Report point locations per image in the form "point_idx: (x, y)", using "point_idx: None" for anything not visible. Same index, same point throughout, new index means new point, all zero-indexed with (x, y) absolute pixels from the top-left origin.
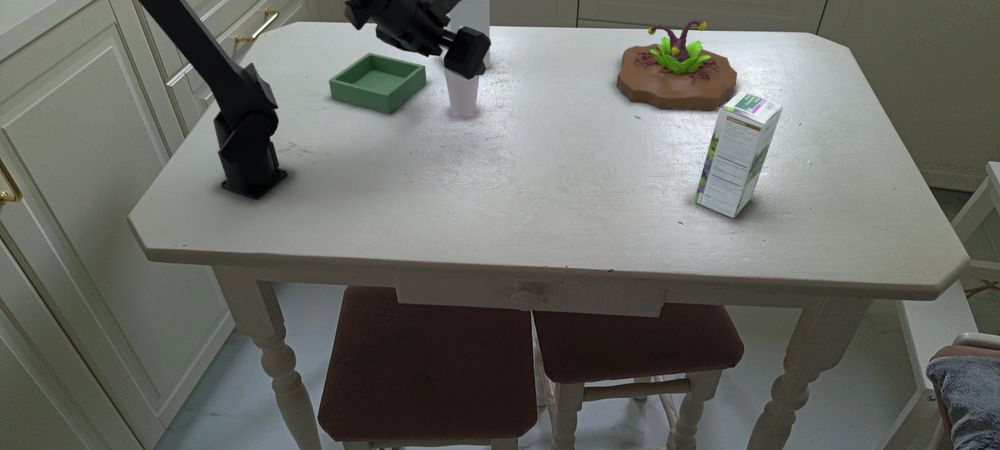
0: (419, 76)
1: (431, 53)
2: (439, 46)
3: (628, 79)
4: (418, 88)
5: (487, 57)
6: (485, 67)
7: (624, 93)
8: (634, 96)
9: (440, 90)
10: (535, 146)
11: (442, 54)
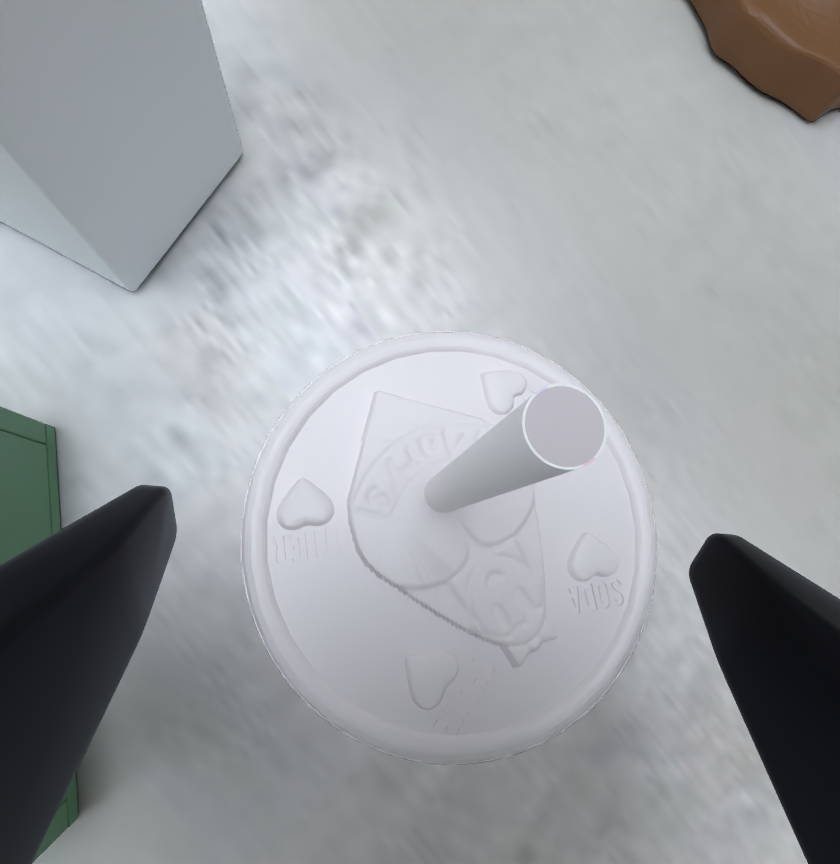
0: (11, 480)
1: (123, 661)
2: (134, 527)
3: (802, 27)
4: (54, 506)
5: (224, 116)
6: (763, 555)
7: (775, 92)
8: (835, 102)
9: (168, 441)
10: (791, 561)
11: (271, 628)
